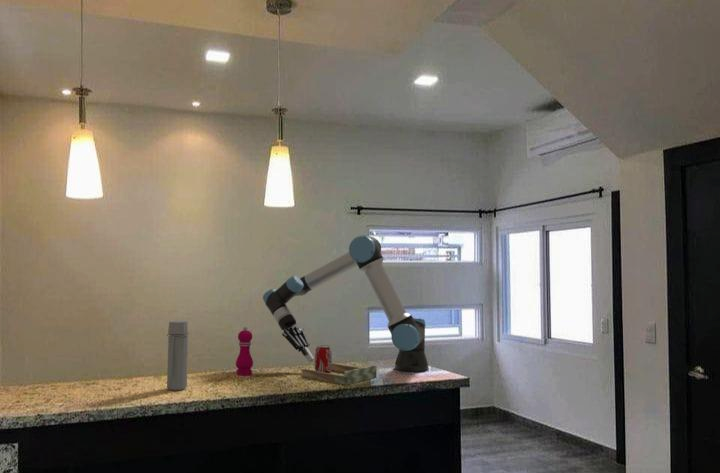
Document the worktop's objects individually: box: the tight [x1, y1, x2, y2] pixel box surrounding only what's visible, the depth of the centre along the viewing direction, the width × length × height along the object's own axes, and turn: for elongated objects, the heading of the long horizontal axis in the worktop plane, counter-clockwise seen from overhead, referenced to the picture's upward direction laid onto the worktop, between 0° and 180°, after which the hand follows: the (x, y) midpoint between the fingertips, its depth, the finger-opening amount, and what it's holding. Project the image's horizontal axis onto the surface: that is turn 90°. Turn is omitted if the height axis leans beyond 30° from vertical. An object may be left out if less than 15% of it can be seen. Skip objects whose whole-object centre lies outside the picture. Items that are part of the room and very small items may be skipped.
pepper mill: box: [235, 326, 254, 377], centre depth 261 cm, size 7×7×20 cm
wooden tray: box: [301, 362, 378, 385], centre depth 259 cm, size 20×24×5 cm
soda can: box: [314, 344, 333, 374], centre depth 264 cm, size 7×7×12 cm
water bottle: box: [166, 320, 190, 392], centre depth 229 cm, size 9×8×25 cm
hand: (311, 360), depth 268 cm, fingers closed
